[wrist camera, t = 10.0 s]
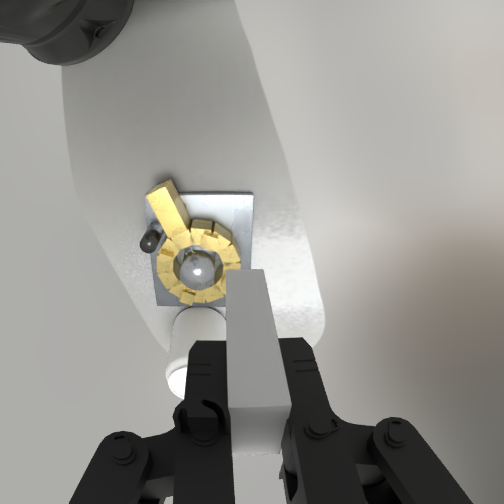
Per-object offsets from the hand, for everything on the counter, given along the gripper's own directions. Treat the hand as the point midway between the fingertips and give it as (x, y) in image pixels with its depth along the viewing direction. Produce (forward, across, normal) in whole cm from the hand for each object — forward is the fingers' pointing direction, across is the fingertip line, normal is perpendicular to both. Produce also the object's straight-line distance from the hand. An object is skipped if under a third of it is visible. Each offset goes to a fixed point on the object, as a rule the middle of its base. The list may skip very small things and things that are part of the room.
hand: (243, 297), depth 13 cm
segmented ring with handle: (+25, -5, -8) cm, 27 cm away
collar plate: (+26, -4, -11) cm, 29 cm away
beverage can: (+27, -4, -24) cm, 36 cm away
